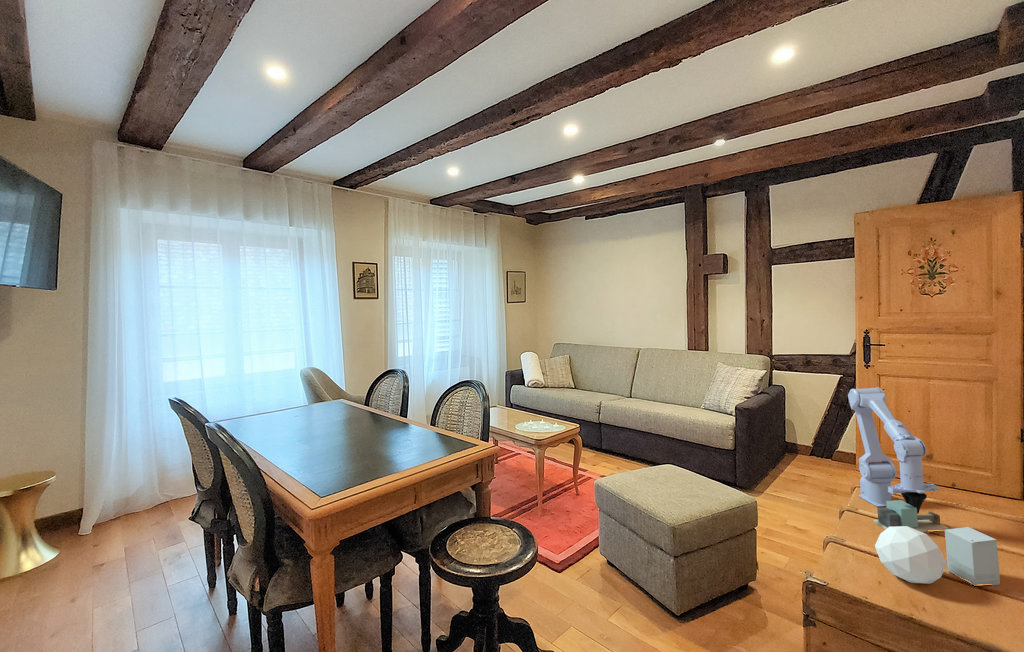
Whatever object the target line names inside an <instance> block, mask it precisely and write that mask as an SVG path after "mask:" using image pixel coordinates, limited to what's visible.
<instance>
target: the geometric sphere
mask: <svg viewBox="0 0 1024 652" xmlns="http://www.w3.org/2000/svg"><path fill="white" fill-rule="evenodd" d="M874 548H875V551H876V553H877V555H878V558H879V560H880V562H881V564H882V565H883V566H884V567H885V568H886V569H887V570H888V572H890V573H891V574H892V575H893V576H896V577H898V578H900V579H902V580H905V581H906V582H908V583H910V584H927V585H928V584H929V585H930V584H933V583H935V582H937V580H939V579H940V578H942V576H943V573H944V571H945V568H946V566H947V565H948V564H947V560H946V559H945V557H944V555H943V553H942V551H941V549H940V547H939V545H938V544H937V543H936V542H935V541H934V540H933V539H932V538H931V537H930V536H929V535H928V534H927V533H922V532H920V531H918V530H915V529H913V528H910V527H908V526H895V527H888V528H887V529H886V530H885V529H884V530H883V531H882V532H880V534H879V536H878V538H877V540H876V542H875V544H874Z"/></svg>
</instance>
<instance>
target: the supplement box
mask: <svg viewBox="0 0 1024 652" xmlns="http://www.w3.org/2000/svg"><path fill="white" fill-rule="evenodd" d="M944 538H945V539H944V540H945V548H946V562H947V564H946V565H947V572H948V571H950V572H952V573H954V574H956V575H957V576H959V577H961V578H963V579H966V580H968V581H970V582H971V583H972V584H973V585H974V586H977V584H992V586H998V585H1001V578H1000V577H1001V576H1000V575H1001V574H1000V566H999V565H1000V562H999V551H998V542H997V541H998V540H997V539H996V538H994V537H991V536H989V535H987V534H985V533H983V532H980V531H978V530H976V529H974V528H972V527H970V526H966V527H965V526H964V527H963V526H962V527H956V528H949V529H946V530H945V531H944ZM950 572H949V573H950ZM957 576H956V577H957ZM974 586H973V587H974Z"/></svg>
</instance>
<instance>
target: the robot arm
mask: <svg viewBox="0 0 1024 652" xmlns="http://www.w3.org/2000/svg"><path fill="white" fill-rule="evenodd" d="M847 398H848V402H849V406H850V409H851V411H854V413H855V416H856V421H857V425H858V428H859V433H860V436H861V441H862V444H863V448H864V454H863V455H861V457H859V458H858V463H859V464H858V470H859V472H860V475H861V477H860V479H859V484H860V486H859V487H860V494H858V497H860V498H862V499H863V500H865V501H866V502H868V503H869V504H872V505H873V506H875V507H877V508H885V507H887V503H886V501H893V495H896V494H900V495H901V496H902V497H903V499H904V502H906V503H908V504H910V505H912V506H914V507H915V508H917V515H920V509H921V507H922V505H923V503H924V501H925V500H926V499H927V498H928V495H927V494H926V492H938V485H936V484H935V483H934V484H933V483H924V473H923V459H922V458H923V457H924V456H925V455H926V454H927V448H926V445H925V444H924V442H923V441H922V439H920V438H918V437H917V436H915V435H912V433H911V432H910V431H909V429H908V428H907V427H906V426H905V424H904V423H903V422H902V421H901V420H897V419H896V418H895V416H894V415H893V413H892V412H891V410H890V408H889V406H888V405H887V403H886V402H887V397H886V394H885V392H884V390H883V389H882V388H880V387H878V386H877V387H870V388H851V389H850V390H849V392H848V394H847ZM873 412H874V413H875V414H876V416H877V417H879V419H880V421H881V422H883V429H884V432H886V434H887V435H888V437H890V439H891V440H892V442H893V449H894V451H895V454H896V459H897V460H898V462H899V463H898V464H899V465H898V466H899V477H900V478H899V479H900V483H898V484H896V485H892V483H891V482H894V479H895V478H896V477H897V469H896V467H895V465H894V463H893V461H892V459H891V457H889V456H888V455H886V454H884V453H883V451H882V448H881V443H880V440H879V435H878V430H877V427H876V425H875V420H874V415H873Z"/></svg>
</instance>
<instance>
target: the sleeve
mask: <svg viewBox="0 0 1024 652" xmlns="http://www.w3.org/2000/svg"><path fill="white" fill-rule="evenodd" d="M886 503H887V506H886V508H888V509H890V510H892V511H893V512H895V513H897V514H899V526H908V527H918V519H917V515H918V514H917V508H915V507H914V506H912V505H910V504H908V503H906V501H905V500H902V499H897V500H896V499H895V500H892V501H886Z"/></svg>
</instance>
